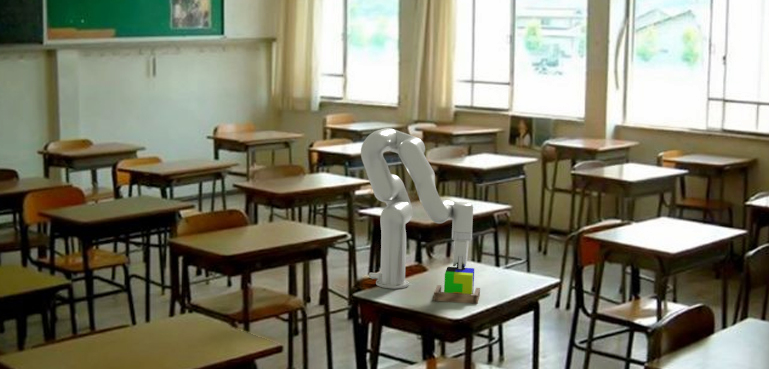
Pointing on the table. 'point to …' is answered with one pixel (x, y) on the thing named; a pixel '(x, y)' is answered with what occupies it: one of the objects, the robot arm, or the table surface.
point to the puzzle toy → (459, 280)
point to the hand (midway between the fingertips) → (460, 283)
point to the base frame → (456, 296)
